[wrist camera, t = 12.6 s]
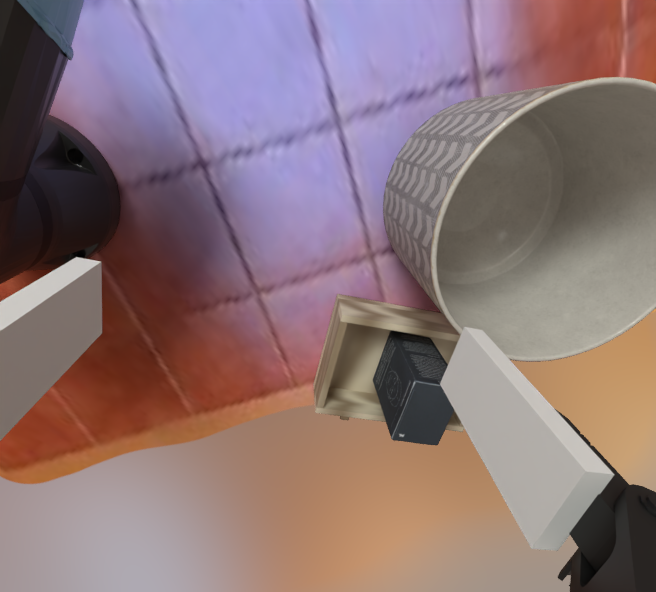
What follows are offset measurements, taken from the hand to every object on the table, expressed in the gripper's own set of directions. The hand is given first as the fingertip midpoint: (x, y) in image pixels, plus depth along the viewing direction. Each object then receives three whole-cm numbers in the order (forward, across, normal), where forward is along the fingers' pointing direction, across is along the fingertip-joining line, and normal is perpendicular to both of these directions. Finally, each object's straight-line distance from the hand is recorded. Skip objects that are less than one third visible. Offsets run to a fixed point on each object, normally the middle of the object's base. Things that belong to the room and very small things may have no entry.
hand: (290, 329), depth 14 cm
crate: (+29, +17, -17) cm, 37 cm away
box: (+28, +17, -17) cm, 37 cm away
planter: (+29, +18, +4) cm, 34 cm away
